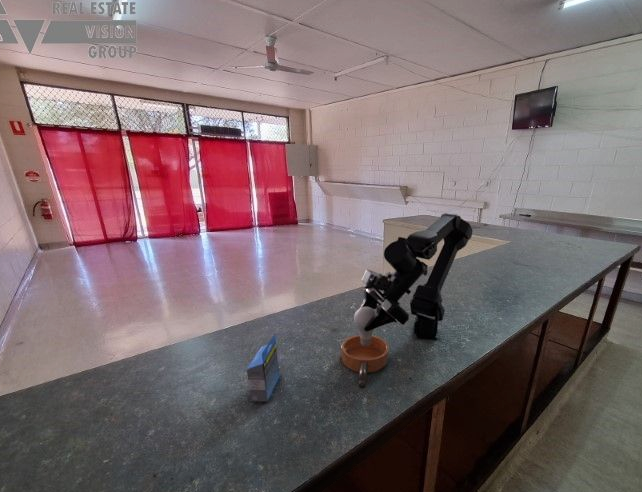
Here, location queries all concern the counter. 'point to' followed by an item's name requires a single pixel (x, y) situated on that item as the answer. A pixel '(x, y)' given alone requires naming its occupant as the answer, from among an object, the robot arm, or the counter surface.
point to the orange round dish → (365, 353)
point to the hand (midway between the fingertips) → (360, 324)
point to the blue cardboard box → (263, 372)
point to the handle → (363, 375)
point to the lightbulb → (364, 324)
